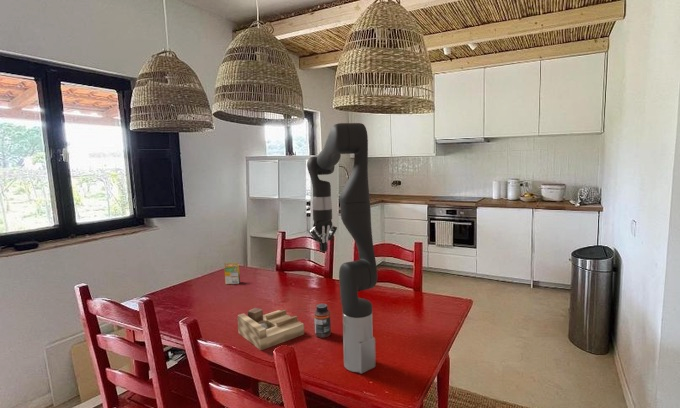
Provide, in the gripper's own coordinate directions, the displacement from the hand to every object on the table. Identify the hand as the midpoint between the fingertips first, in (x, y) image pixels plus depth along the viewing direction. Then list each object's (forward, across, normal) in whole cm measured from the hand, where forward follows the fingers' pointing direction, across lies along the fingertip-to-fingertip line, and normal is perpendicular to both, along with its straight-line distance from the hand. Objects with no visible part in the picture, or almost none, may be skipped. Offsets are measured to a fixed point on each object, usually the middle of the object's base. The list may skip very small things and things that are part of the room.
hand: (323, 251), depth 144 cm
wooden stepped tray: (+29, -22, +6) cm, 36 cm away
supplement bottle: (+29, -8, -8) cm, 31 cm away
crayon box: (+29, -7, +74) cm, 80 cm away
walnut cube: (+25, -24, +12) cm, 37 cm away
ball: (+26, -25, +6) cm, 37 cm away
